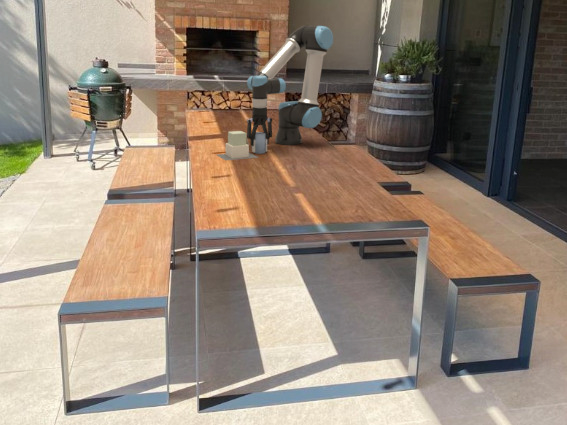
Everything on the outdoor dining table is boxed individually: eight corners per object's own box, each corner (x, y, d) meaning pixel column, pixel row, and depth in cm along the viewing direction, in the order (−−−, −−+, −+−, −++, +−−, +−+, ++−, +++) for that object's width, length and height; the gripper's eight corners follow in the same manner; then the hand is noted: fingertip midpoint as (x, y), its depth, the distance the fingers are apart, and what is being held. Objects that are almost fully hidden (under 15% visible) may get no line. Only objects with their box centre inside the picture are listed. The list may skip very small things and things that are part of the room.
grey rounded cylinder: (262, 152, 339) (262, 131, 336) (267, 154, 334) (267, 133, 330) (252, 153, 336) (252, 132, 333) (256, 155, 331) (256, 134, 328)
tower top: (240, 142, 328) (240, 130, 326) (246, 145, 322) (246, 133, 320) (228, 143, 325) (227, 131, 323) (233, 146, 319) (233, 134, 317)
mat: (248, 153, 336) (248, 151, 335) (259, 159, 324) (258, 157, 323) (215, 156, 328) (215, 154, 328) (225, 162, 316) (225, 160, 316)
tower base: (242, 153, 331) (242, 142, 329) (248, 157, 324) (248, 145, 322) (225, 154, 328) (225, 143, 326) (232, 158, 320) (231, 146, 318)
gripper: (273, 104, 335) (273, 148, 342) (239, 106, 327) (239, 151, 334) (279, 106, 328) (279, 151, 335) (245, 108, 321) (245, 154, 328)
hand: (259, 151), depth 335 cm, fingers closed on grey rounded cylinder, 6 cm apart
